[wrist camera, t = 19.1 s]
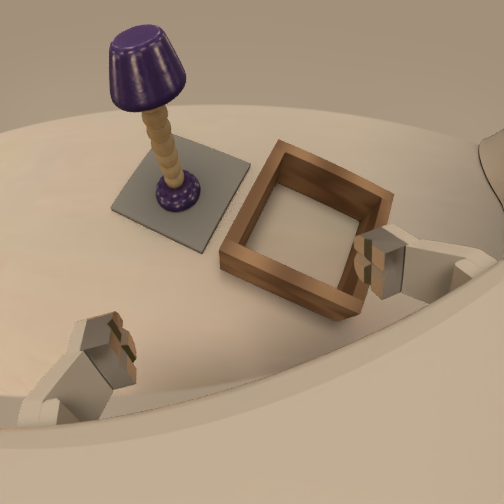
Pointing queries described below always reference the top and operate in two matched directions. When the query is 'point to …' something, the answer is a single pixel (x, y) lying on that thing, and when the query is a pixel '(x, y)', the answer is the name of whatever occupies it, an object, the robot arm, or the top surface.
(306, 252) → the top surface
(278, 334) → the top surface
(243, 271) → the walnut crate
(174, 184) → the toy lamp
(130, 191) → the slate mat
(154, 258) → the top surface
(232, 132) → the top surface
